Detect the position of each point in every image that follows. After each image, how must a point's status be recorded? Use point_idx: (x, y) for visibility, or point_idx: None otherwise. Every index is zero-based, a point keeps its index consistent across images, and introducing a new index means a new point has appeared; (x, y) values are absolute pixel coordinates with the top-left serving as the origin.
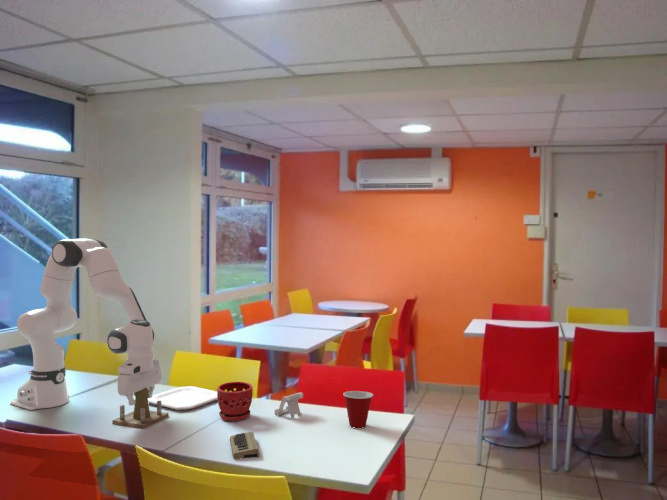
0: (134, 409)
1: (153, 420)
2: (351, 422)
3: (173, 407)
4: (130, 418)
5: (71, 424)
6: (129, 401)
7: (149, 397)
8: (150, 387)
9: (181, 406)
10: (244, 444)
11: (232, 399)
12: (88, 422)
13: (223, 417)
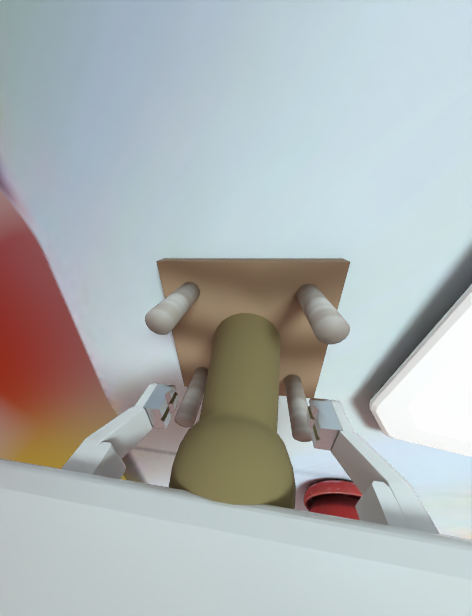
0: (213, 352)
1: None
2: None
3: (379, 394)
4: (213, 315)
5: (10, 7)
6: (140, 404)
7: (307, 418)
8: (363, 506)
9: (388, 416)
10: None
11: None
12: (103, 107)
13: (307, 494)
